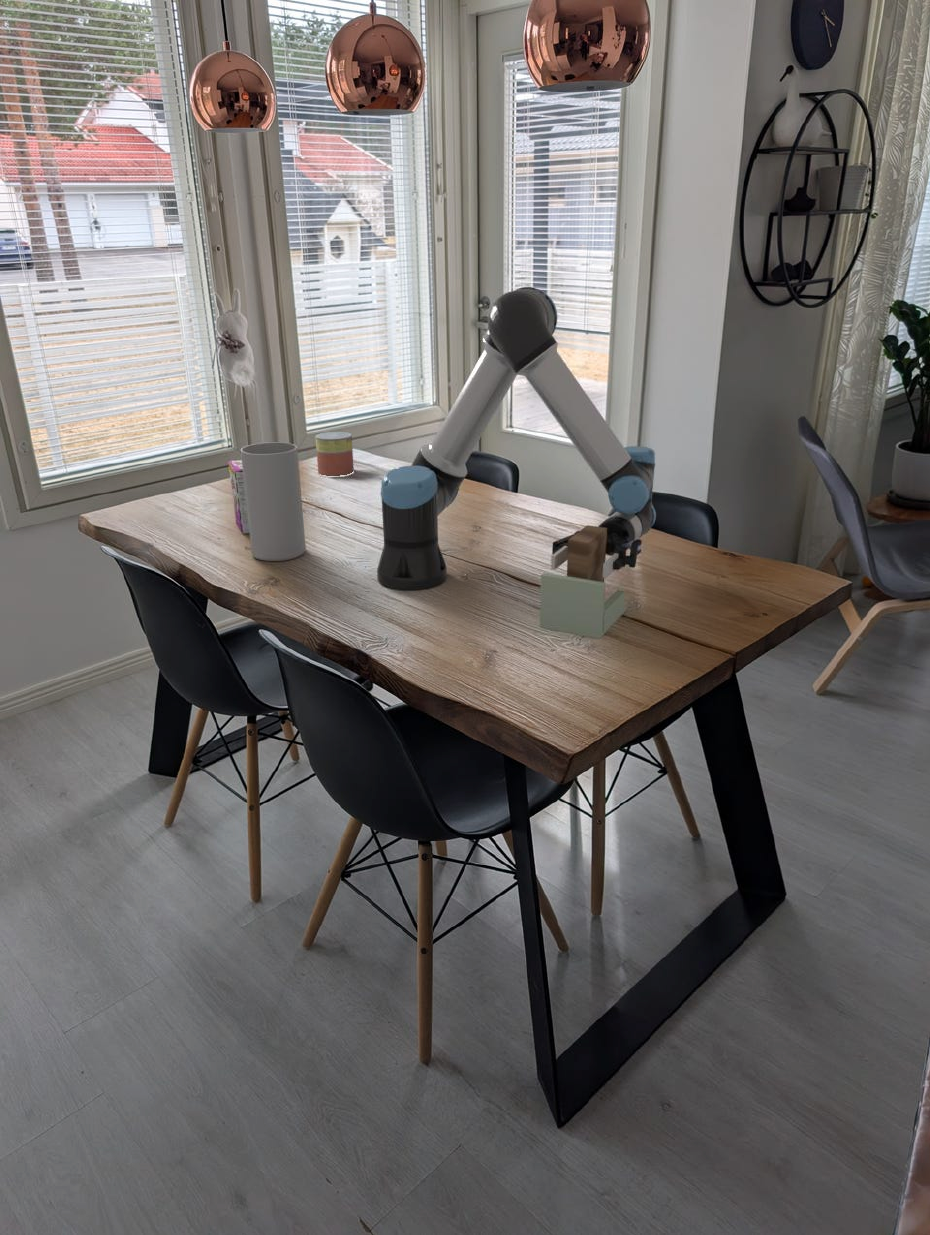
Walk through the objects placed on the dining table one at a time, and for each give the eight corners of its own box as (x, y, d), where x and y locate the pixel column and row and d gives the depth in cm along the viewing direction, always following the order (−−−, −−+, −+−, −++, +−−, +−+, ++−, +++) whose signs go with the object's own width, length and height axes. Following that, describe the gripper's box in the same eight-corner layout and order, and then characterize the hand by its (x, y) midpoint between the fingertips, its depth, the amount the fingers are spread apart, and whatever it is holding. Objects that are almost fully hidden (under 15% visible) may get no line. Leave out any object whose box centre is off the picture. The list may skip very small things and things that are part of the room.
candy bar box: (234, 522, 237) (227, 460, 230) (253, 520, 238) (247, 459, 232) (241, 535, 227) (234, 470, 221) (261, 532, 229) (254, 468, 222)
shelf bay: (599, 638, 167) (602, 585, 163) (539, 627, 172) (540, 575, 168) (627, 609, 180) (630, 558, 176) (570, 599, 185) (572, 549, 181)
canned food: (360, 474, 282) (357, 436, 277) (326, 479, 277) (323, 440, 272) (345, 467, 291) (343, 430, 286) (312, 472, 286) (309, 434, 281)
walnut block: (585, 613, 170) (588, 542, 165) (565, 610, 172) (568, 539, 166) (603, 596, 178) (607, 527, 173) (584, 592, 180) (587, 525, 174)
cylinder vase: (241, 553, 214) (229, 448, 204) (286, 541, 222) (276, 439, 212) (271, 566, 205) (260, 457, 196) (316, 553, 213) (308, 447, 204)
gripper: (669, 558, 183) (635, 595, 164) (566, 543, 192) (523, 576, 174) (672, 522, 180) (637, 556, 162) (568, 509, 189) (524, 539, 171)
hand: (578, 566), depth 168 cm, fingers open, 9 cm apart
